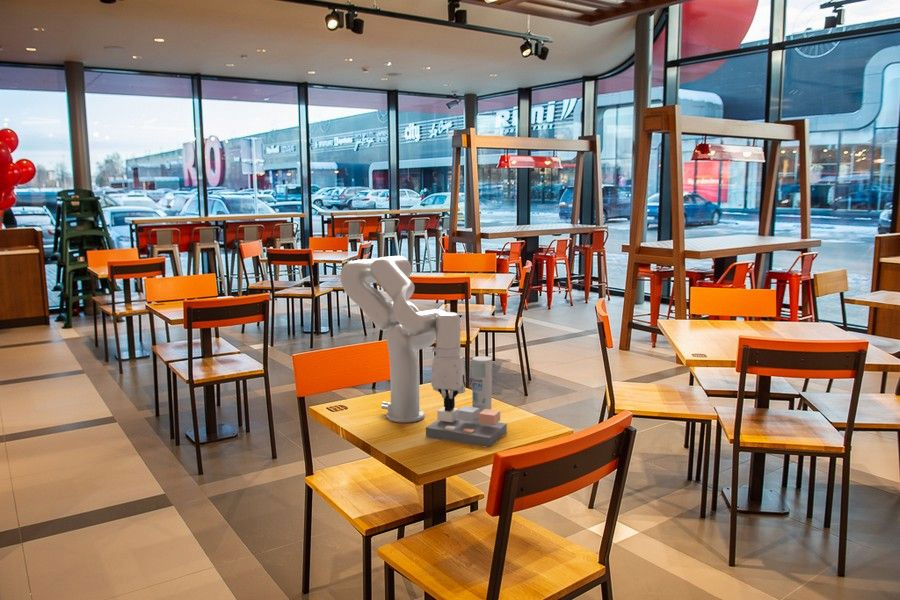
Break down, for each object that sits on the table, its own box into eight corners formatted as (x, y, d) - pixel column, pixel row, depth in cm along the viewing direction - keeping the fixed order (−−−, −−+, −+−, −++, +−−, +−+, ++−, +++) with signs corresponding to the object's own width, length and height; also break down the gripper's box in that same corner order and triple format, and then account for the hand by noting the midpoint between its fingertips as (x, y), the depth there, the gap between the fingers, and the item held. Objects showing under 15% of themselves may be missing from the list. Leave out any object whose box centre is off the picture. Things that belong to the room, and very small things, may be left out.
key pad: (425, 437, 211) (425, 425, 210) (445, 423, 223) (445, 412, 223) (489, 447, 202) (489, 435, 201) (506, 432, 214) (506, 421, 214)
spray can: (495, 416, 230) (496, 358, 227) (482, 421, 225) (483, 361, 222) (480, 412, 234) (481, 355, 231) (468, 417, 229) (468, 358, 226)
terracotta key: (478, 422, 209) (478, 413, 208) (485, 418, 213) (485, 408, 213) (494, 425, 207) (494, 415, 206) (500, 420, 211) (500, 410, 211)
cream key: (437, 420, 215) (437, 410, 215) (444, 415, 220) (444, 406, 219) (451, 422, 213) (451, 413, 212) (458, 417, 217) (458, 408, 217)
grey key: (457, 419, 212) (457, 410, 211) (464, 415, 216) (464, 405, 216) (472, 421, 210) (472, 412, 209) (479, 417, 214) (479, 407, 214)
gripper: (421, 353, 213) (422, 410, 215) (465, 356, 206) (466, 416, 209) (432, 348, 219) (433, 404, 222) (475, 351, 213) (476, 409, 216)
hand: (449, 409), depth 215 cm, fingers closed
